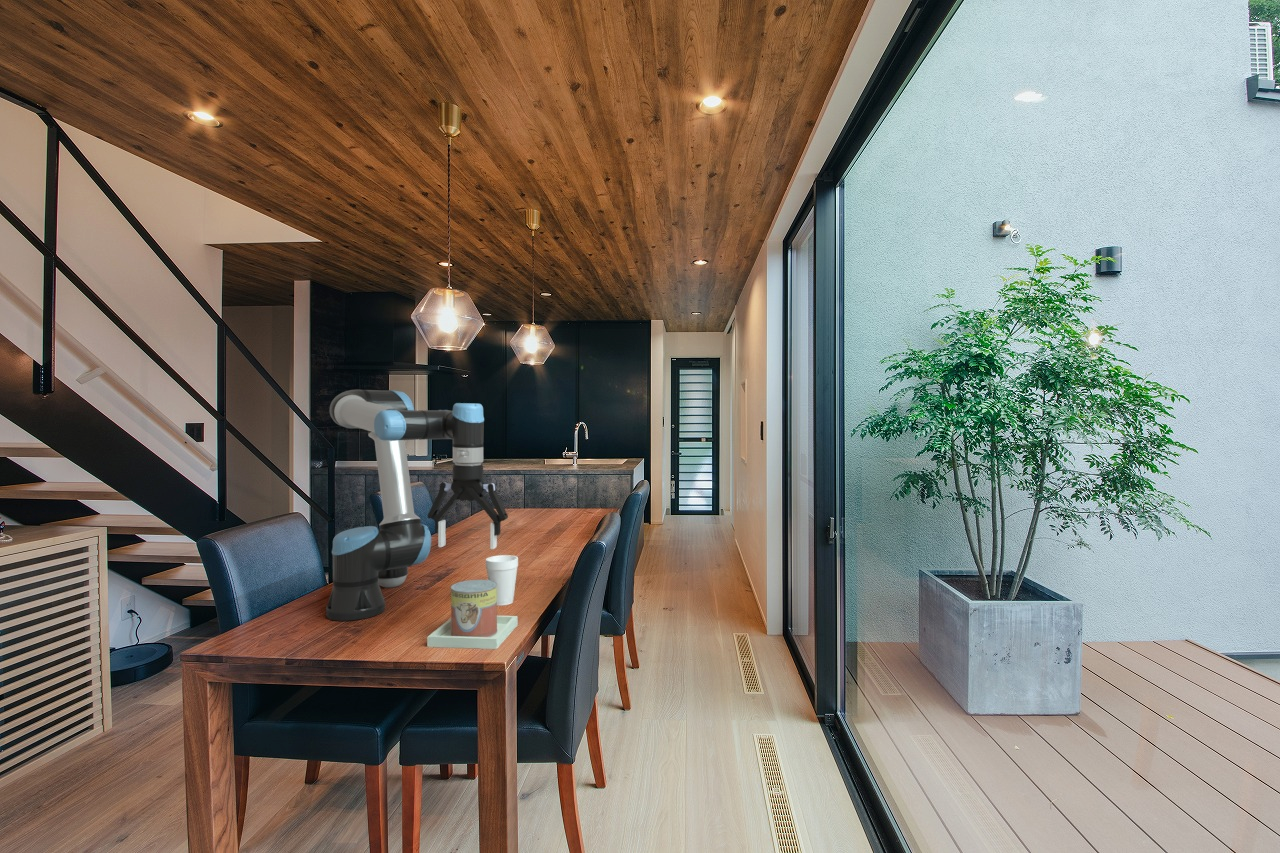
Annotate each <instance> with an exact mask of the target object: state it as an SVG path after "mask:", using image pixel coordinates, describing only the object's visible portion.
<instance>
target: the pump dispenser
mask: <svg viewBox="0 0 1280 853" xmlns="http://www.w3.org/2000/svg"><path fill="white" fill-rule="evenodd" d="M408 568H409V567H401V568H396V569H390V570H385V571H379V572H378V583H379V586H380V587H382V588H387V589H388V588H389V589H390V588H391V589H392V588H397V587H399V586H401V585H403V583H405V581H406V579H407V576H408V574H409V569H408Z"/></svg>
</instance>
